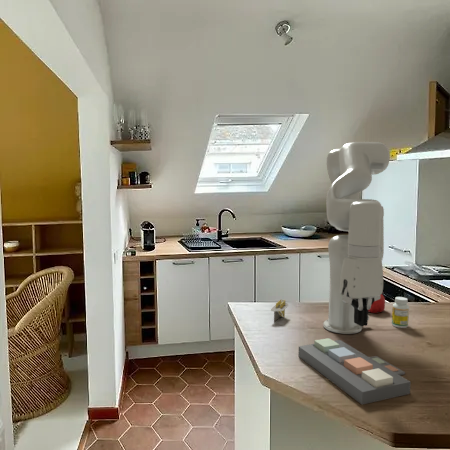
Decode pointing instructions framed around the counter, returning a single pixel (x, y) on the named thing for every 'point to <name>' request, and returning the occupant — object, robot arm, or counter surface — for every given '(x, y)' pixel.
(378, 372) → the cream key
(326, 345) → the sage key
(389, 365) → the card
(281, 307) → the platform
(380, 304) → the pomegranate
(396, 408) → the counter surface
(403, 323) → the supplement bottle
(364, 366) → the terracotta key
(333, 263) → the robot arm
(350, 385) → the keyguard frame
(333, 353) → the blue key
